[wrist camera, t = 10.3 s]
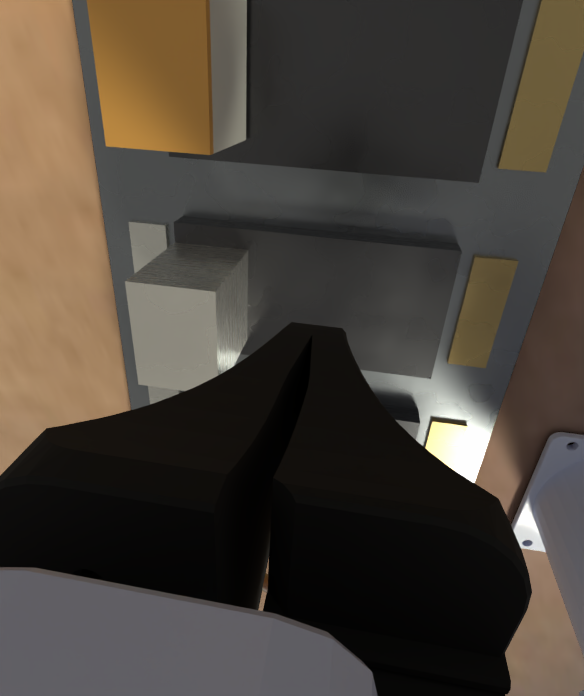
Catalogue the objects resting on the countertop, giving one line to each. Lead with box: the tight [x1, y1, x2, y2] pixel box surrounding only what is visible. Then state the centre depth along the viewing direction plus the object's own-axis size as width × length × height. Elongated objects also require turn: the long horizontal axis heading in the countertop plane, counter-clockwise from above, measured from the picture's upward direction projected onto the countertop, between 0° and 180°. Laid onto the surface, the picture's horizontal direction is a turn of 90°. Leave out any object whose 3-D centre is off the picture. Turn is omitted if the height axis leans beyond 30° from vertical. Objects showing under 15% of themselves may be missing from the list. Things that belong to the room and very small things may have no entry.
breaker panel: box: [72, 0, 584, 483], centre depth 18 cm, size 18×24×6 cm
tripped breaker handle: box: [87, 0, 247, 155], centre depth 14 cm, size 3×4×4 cm
